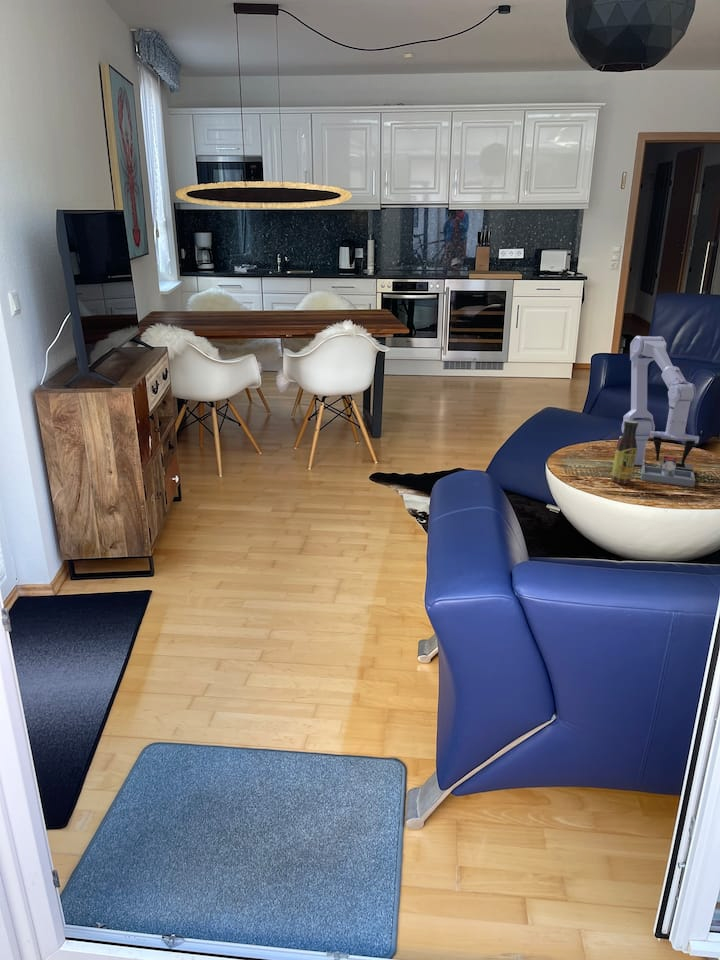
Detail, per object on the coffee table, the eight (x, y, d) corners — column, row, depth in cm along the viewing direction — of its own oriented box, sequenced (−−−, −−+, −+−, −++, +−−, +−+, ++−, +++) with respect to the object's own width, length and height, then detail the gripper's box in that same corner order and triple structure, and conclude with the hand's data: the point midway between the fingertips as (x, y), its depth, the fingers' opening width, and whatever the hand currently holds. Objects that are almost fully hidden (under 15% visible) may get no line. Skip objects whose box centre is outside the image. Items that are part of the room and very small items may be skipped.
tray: (640, 479, 236) (641, 473, 235) (641, 471, 246) (642, 465, 245) (694, 487, 231) (695, 480, 230) (692, 478, 241) (693, 471, 240)
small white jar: (660, 477, 237) (664, 457, 235) (660, 474, 241) (663, 454, 239) (673, 479, 236) (677, 459, 234) (673, 476, 239) (677, 456, 237)
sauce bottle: (621, 485, 229) (630, 424, 223) (606, 480, 234) (615, 420, 228) (635, 483, 232) (645, 423, 226) (620, 478, 237) (630, 418, 231)
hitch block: (659, 472, 245) (661, 465, 245) (659, 467, 252) (660, 460, 252) (691, 477, 242) (693, 469, 241) (690, 471, 249) (691, 464, 248)
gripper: (653, 420, 231) (646, 461, 235) (702, 426, 227) (694, 467, 231) (652, 416, 238) (646, 456, 242) (700, 421, 233) (693, 462, 237)
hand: (669, 461), depth 237 cm, fingers open, 7 cm apart
